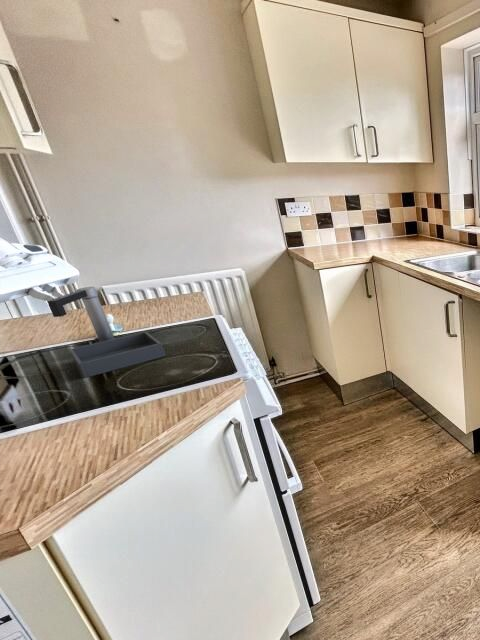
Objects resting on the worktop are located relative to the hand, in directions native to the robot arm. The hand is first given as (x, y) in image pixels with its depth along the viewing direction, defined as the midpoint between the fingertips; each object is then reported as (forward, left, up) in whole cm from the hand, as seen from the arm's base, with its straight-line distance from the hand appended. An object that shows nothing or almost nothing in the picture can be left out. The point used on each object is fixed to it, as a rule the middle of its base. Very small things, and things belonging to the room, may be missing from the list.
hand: (61, 301), depth 101 cm
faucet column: (+5, +4, -15) cm, 16 cm away
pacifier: (+7, +17, -15) cm, 24 cm away
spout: (+2, 0, -2) cm, 3 cm away
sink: (+5, -8, -15) cm, 18 cm away
